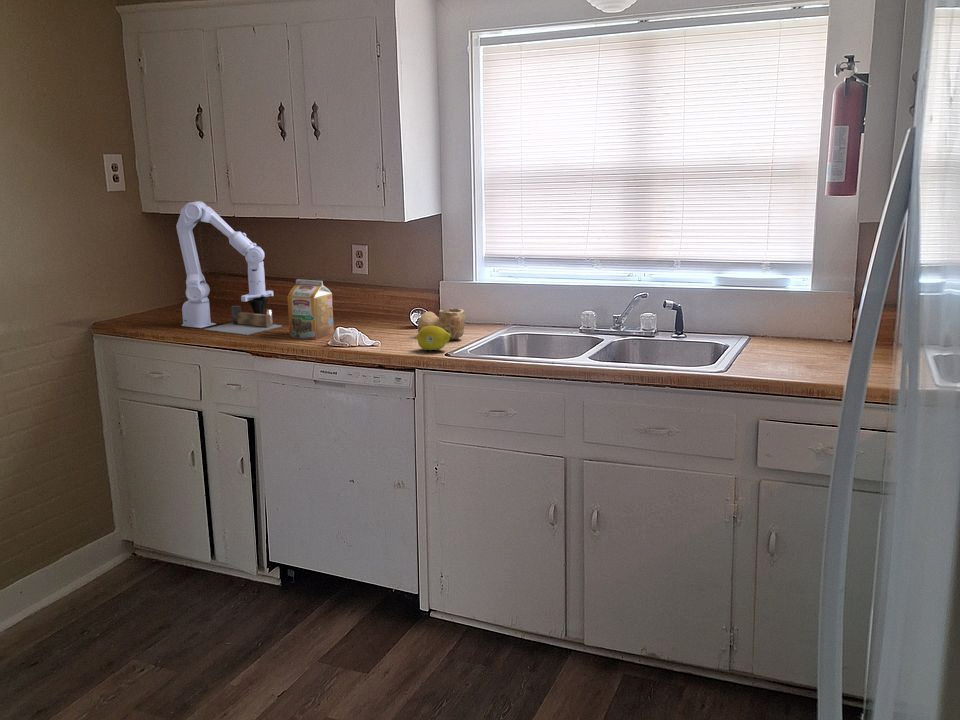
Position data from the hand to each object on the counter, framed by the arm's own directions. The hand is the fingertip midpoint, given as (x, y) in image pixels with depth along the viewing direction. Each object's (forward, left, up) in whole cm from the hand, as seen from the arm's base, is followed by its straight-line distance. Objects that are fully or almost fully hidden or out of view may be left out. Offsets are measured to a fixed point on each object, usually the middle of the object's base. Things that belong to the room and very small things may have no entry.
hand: (259, 318), depth 315 cm
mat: (-1, -7, -2) cm, 7 cm away
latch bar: (-1, -3, -2) cm, 4 cm away
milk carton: (+29, -6, -3) cm, 30 cm away
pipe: (+71, +11, -3) cm, 72 cm away
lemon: (+78, -7, -3) cm, 78 cm away
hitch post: (+5, 0, -2) cm, 6 cm away
